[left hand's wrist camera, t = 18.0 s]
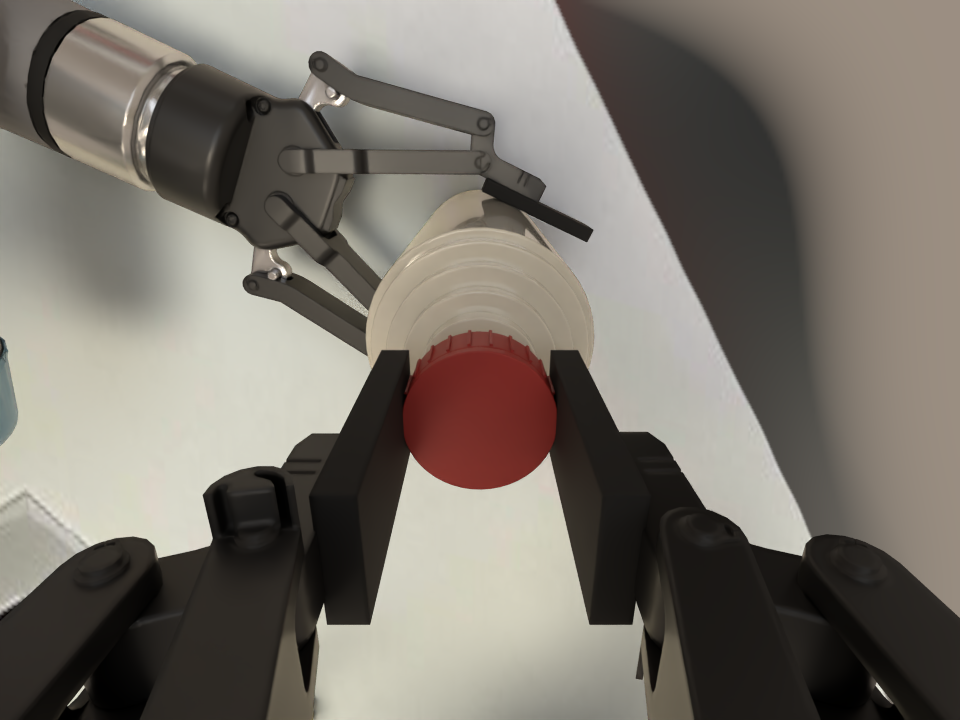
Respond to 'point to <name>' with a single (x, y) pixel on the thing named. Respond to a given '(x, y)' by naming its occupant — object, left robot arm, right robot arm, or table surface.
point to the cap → (479, 411)
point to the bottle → (479, 285)
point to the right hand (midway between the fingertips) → (550, 300)
